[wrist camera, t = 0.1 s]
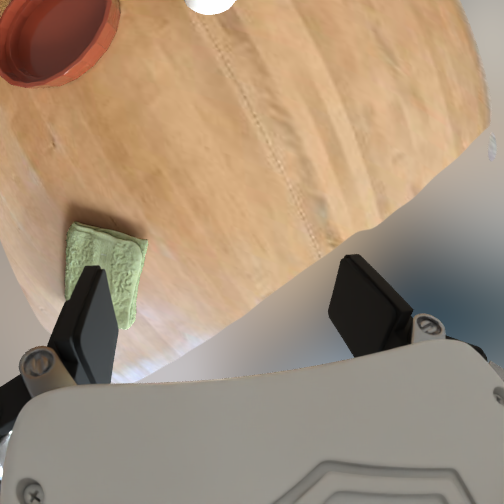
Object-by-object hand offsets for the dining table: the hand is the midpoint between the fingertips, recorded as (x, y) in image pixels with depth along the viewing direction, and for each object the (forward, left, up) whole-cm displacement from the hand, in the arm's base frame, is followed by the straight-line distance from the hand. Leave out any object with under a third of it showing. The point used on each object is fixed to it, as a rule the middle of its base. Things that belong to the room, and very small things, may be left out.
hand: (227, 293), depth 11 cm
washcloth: (+24, 0, -31) cm, 39 cm away
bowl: (-2, -28, -31) cm, 42 cm away
